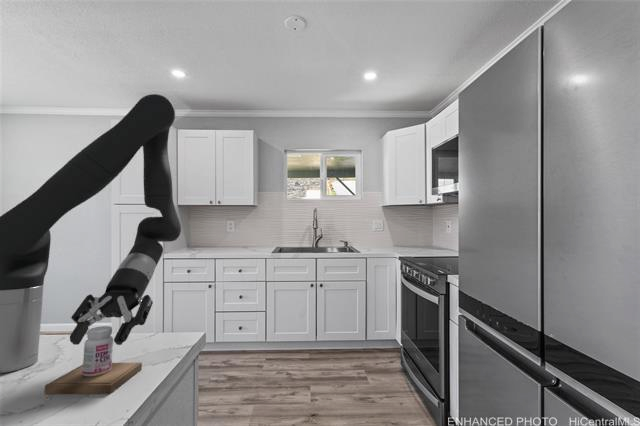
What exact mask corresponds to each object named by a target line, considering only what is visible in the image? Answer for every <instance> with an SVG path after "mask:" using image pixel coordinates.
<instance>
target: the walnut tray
mask: <svg viewBox="0 0 640 426" xmlns="http://www.w3.org/2000/svg"><path fill="white" fill-rule="evenodd" d="M142 365H143V363H142V362H112V366H111V369H110V371H108V372H106V373H104V374H101V375H98V376H84V375H83V374H82V370H83V364H81V365H79V366H77V367H75V368H74V369H72V370H70V371H69V372H66V373H64V374H63V375H61V376H59V377H57V378H55V379H54V380H53V381H50V382H49V383H47V384H45V385H44V392H43V393H44V395H48V394H49V395H59V394H60V395H63V394H65V395H84V394H85V395H87V394H88V395H90V394H91V395H95V394H96V395H97V394H98V395H102V394H103V395H104V394H106V395H107V394H109V395H110V394H113V393H114V392H116V390H118V389H119V388H120V387H122V385H124V384H125V383H127V382H128V381H129V380H130V379H132V378H133V377H134V376H135V375H136V374H138V373H139V372H140V371H142V368H143V366H142Z"/></svg>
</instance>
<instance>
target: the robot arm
mask: <svg viewBox="0 0 640 426" xmlns="http://www.w3.org/2000/svg"><path fill="white" fill-rule="evenodd" d="M175 110H176V109H175V107H174V105H173V102H171V100H170V99H168V98H167V97H166V96H164V95H162V94H156V93H155V94H148V95H147V94H146V95H145V96H142V97H141V98H140V99H139V100H138V101H137V102H136V104H134V106H133V107H132V108H131V109H130V110H129V111H128V113H127V114H126V115H124V116H123V117H122V118H121V119H120V120H119V121H118V123H116V124H115V125H114V126H112V128H109V129H108V130H107V131H106V132H104V133H102V134H101V135H99V137H97V138H96V139H94V140H93V141H92V142H91V143H89V144H88V145H86V147H83V149H81V150H80V151H78V153H76V154H75V155H74V156H73V157H72V158H71V159H70V160H68V161H67V162H66V163H65V164H64V165H63V166H62V167H61V168H59V169H58V170H57V171H56V172H55V173H54V174H53V175H52V176H50V177H49V178H48V179H46V181H45V182H44V183H43V184H42V185H41V186H40V187H39V188H38V189H37V190H36V191H34V192H33V193H32V194H30V195H29V196H28V197H27V198H26V199H24V200H22V201H20V202H19V203H18V204H17V205H15V206H13V207H12V208H11V209H9V210H8V211H6V212H5V213H2V215H1V216H0V374H4V373H10V372H14V371H18V370H21V369H25V368H27V367H30V366H32V365H33V364H35V363H37V362H38V360H39V349H40V348H39V347H40V339H41V337H40V336H41V323H42V311H43V295H44V285H45V284H44V283H45V276H46V274H47V271H48V268H49V260H50V253H51V251H50V249H51V241H52V238H51V237H52V236H51V231H50V230H51V228H52V227H54V225H55V224H56V223H58V221H59V220H60V219H62V218H63V217H64V216H65V215H66V214H67V213H68V212H70V211H72V210H73V209H74V208H76V207H78V206H79V205H81V204H83V203H85V202H87V201H88V200H89V199H91V198H92V197H94V196H95V195H97V194H98V193H100V192H101V191H103V189H105V188H106V187H107V186H108V185H109V184H111V183H112V181H113V180H114V179H116V178H117V177H118V176H119V175H120V173H122V171H123V170H124V169H125V168H126V167H127V166H128V165H129V163H130V162H131V160H132V159H133V158H134V157H135V156H136V154H137V152H138V151H140V149H141V148H142V152H143V199H144V205H145V206H146V207H147V208H150V209H155V210H157V211H158V212H159V213H160V214H161V216H148V217H144V219H142V220H141V221H140V222H139V223H138V226H137V229H136V235H135V239H134V243H133V246H132V247H131V249H130V250H129V252H128V253H127V255H126V257H125V258H124V259H123V260H122V261H121V263H120V264H119V266H118V268H117V269H116V271H115V272H114V274H113V275H112V277H111V278H110V280H109V282H108V283H107V285H106V288H105V291H104V293H103V294H102V295H100V296H99V297H96V296H93V294H88V295H86V296H85V298H84V299H83V301H82V302H81V303H80V304H79V306H78V308H77V309H76V310H75V311H74V313H73V314H72V315H71V316H70V319H71V320H73V322H74V323H75V324H76V325H75V327H74V329H73V331H72V332H71V334H70V335H69V341H70V343H71V344H72V345H80V343H81V342H82V341H83V339H84V336H86V334H87V333H88V330H89V328H90V327H91V326H92V325H94V324H95V323H97V322H100V321H103V319H105V318H117V319H120V318H122V317H123V319H124V322H122V323H121V325H120V327H119V329H118V331H117V332H116V334H115V336H114V338H113V343H115V345H118V346H121V345H123V343H125V342H126V341H127V340H128V337H129V336H130V334H131V331H132V330H133V329H134V327H136V326H138V325H139V326H143V325H145V324H146V322H147V319H148V317H149V314H150V312H151V308H152V306H153V304H154V302H153V300H152V298H151V296H150V295H149V294H145V291H146V290H147V288H148V286H149V284H150V282H151V280H152V278H153V276H154V273H155V270H156V267H157V265H158V263H159V262H160V260H161V257H162V255H163V253H164V247H163V245H162V244H161V243H160V242H164V243H165V242H174V241H177V240H178V238H179V237H180V235H181V233H182V232H181V231H182V227H181V225H182V224H181V222H180V219H179V216H178V212H177V210H176V207H175V203H174V199H173V198H174V196H173V180H172V178H173V177H172V172H171V171H172V170H171V165H170V161H169V153H168V151H169V150H168V147H169V146H168V145H169V135H170V129H171V127H172V125H173V124H174V121H175V118H176V111H175ZM144 294H145V295H144ZM143 295H144V296H143ZM137 306H139V307H138V308H137V311H136V314H135V316H134V315H133V311H132V310H134V309H135V308H136V307H137ZM99 311H100V313H99V314H98V313H97V312H99Z"/></svg>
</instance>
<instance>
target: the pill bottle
mask: <svg viewBox="0 0 640 426" xmlns="http://www.w3.org/2000/svg"><path fill="white" fill-rule="evenodd" d="M112 333H113V327H112V326H111V325H105V326H104V325H103V326H101V325H100V326H95V327H93V328H90V329H88V330H87V333H86V334H87V335H86V336H87V340H85V342H84V347H83V360H82V361H83V362H82V365H83V370H82V374H83V375H84V376H98V375H101V374H104V373H106V372H108V371H110V369H111V366H112V363H113V352H114V351H113V346H114V338H113V336H112Z"/></svg>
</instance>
